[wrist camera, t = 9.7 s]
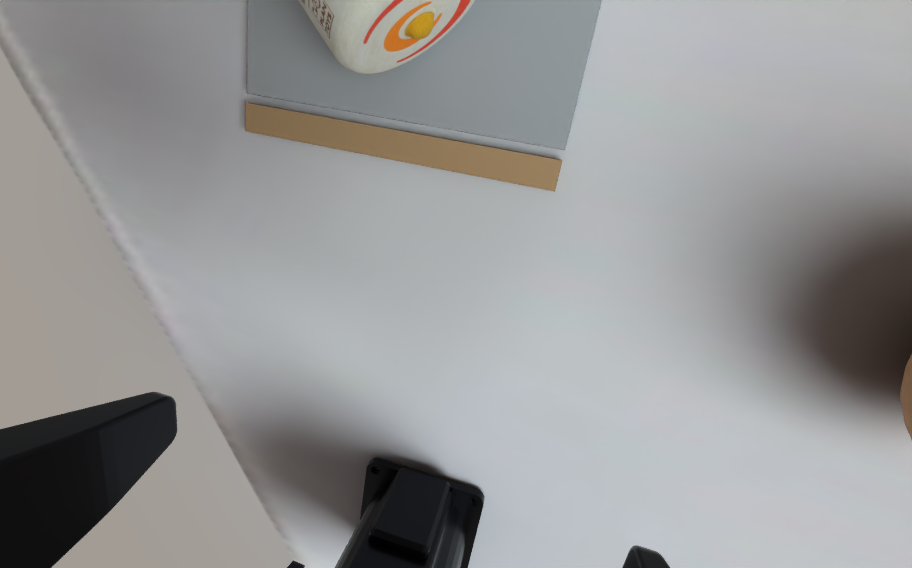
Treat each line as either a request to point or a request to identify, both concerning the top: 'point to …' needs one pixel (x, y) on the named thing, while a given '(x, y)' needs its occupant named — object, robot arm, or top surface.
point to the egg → (907, 396)
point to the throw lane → (433, 86)
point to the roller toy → (382, 29)
